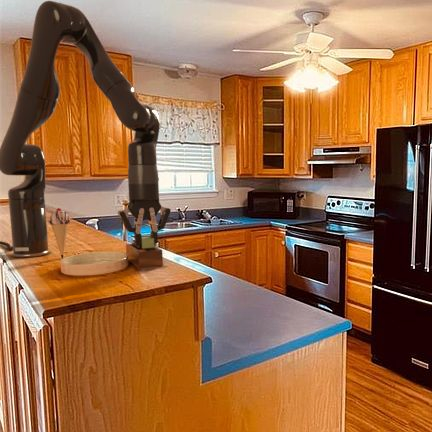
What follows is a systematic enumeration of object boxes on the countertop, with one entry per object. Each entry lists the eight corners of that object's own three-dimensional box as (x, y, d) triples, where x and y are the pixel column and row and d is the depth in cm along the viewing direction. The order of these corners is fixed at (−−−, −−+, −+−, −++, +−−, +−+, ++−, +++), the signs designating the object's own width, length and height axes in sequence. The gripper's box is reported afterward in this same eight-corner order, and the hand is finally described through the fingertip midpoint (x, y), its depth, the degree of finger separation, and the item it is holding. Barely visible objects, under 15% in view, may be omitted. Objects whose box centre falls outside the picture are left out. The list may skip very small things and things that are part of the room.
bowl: (57, 267, 114) (56, 256, 113) (120, 259, 123) (120, 249, 122) (65, 280, 100) (64, 268, 100) (135, 270, 109) (134, 259, 109)
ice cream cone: (78, 258, 124) (74, 207, 122) (61, 262, 118) (58, 209, 117) (62, 257, 126) (59, 206, 124) (46, 261, 120) (42, 208, 118)
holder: (126, 260, 120) (125, 244, 120) (148, 258, 124) (147, 242, 123) (139, 270, 109) (138, 252, 109) (163, 267, 113) (162, 249, 112)
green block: (138, 246, 114) (138, 237, 114) (150, 244, 116) (149, 236, 115) (142, 248, 111) (142, 239, 111) (154, 247, 112) (154, 238, 112)
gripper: (165, 180, 118) (167, 241, 120) (112, 182, 110) (115, 247, 113) (174, 181, 112) (176, 245, 114) (118, 183, 104) (122, 252, 106)
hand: (146, 246), depth 113 cm, fingers closed on green block, 3 cm apart
